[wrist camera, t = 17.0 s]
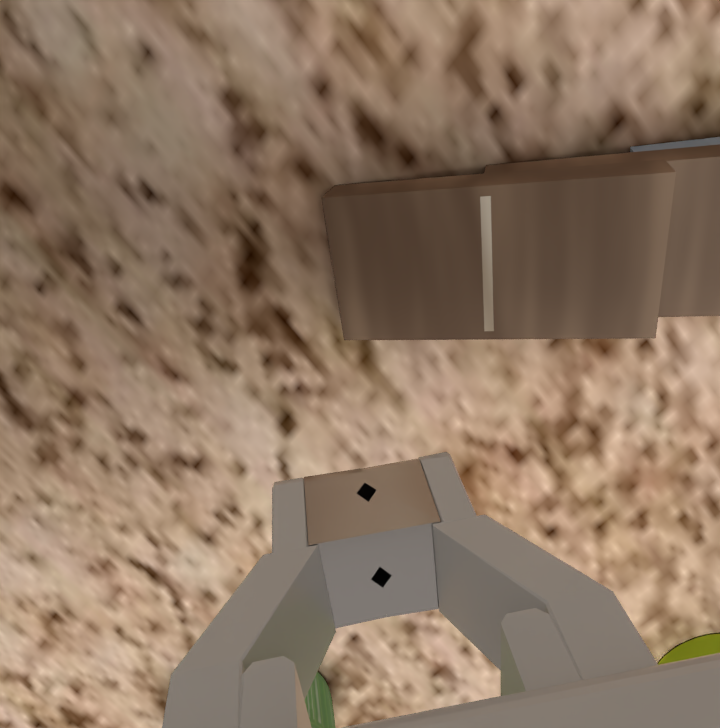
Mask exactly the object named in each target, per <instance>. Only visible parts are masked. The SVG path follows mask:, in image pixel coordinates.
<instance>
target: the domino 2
mask: <svg viewBox="0 0 720 728" xmlns="http://www.w3.org/2000/svg"><path fill="white" fill-rule="evenodd" d="M663 159H665V160H666V162H667V163H668V164H669V165H670V166H671V167H672V168H673V169H674V170H675V171H676V177H675V185H674V193H673V201H672V209H671V217H670V225H669V233H668V241H667V249H666V257H665V265H664V273H663V281H662V289H661V298H660V306H659V314H658V317H680V316H720V144H718V145H707V146H696V147H685V148H674V149H663V150H651V151H640V152H629V153H618V154H607V155H596V156H585V157H573V158H562V159H551V160H540V161H529V162H518V163H506V164H495V165H486V168H485V171H484V174H485V173H497V172H510V171H523V170H536V169H548V168H561V167H574V166H586V165H599V164H612V163H625V162H637V161H650V160H663Z"/></svg>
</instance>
